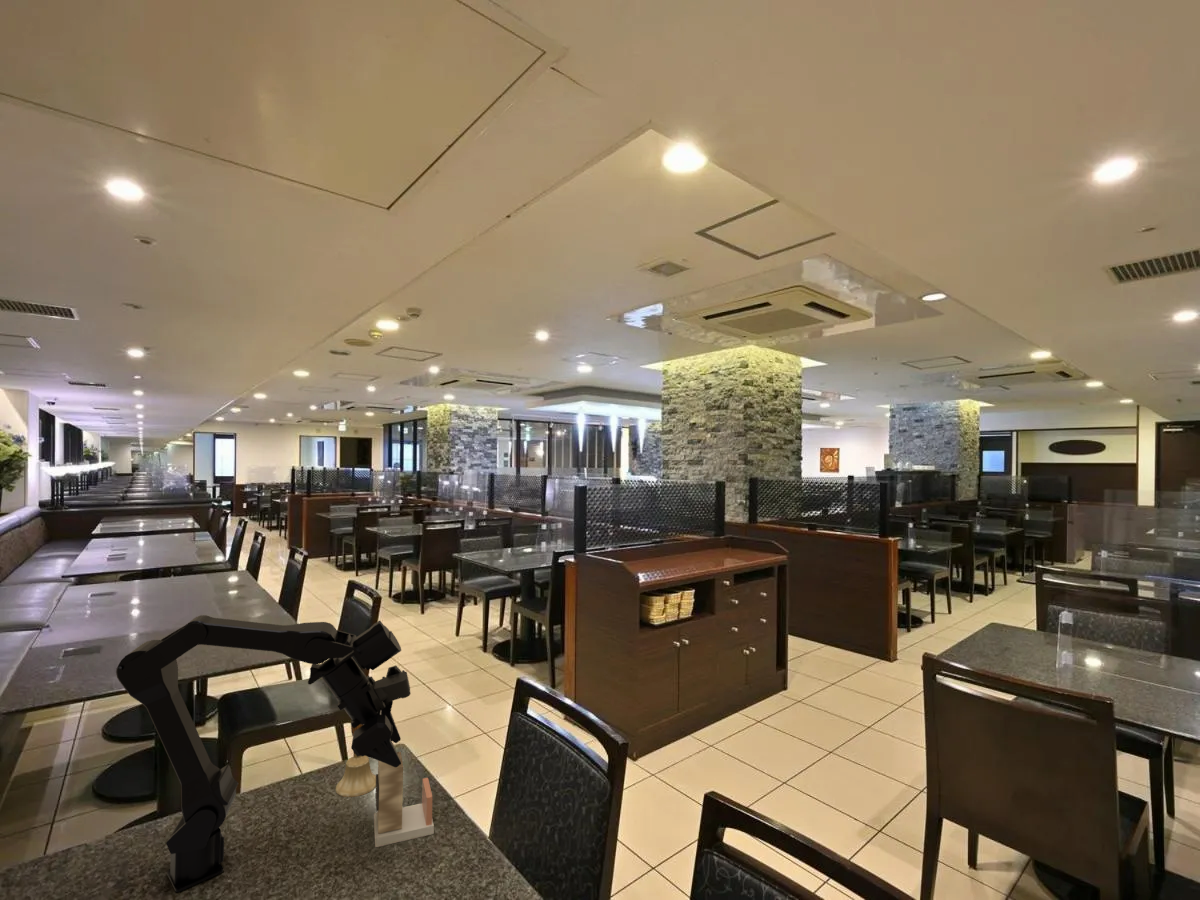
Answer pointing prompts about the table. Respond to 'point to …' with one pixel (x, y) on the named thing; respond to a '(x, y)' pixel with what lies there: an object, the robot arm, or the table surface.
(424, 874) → the table surface
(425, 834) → the base
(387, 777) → the tan tall block
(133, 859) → the table surface
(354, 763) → the hand bell
